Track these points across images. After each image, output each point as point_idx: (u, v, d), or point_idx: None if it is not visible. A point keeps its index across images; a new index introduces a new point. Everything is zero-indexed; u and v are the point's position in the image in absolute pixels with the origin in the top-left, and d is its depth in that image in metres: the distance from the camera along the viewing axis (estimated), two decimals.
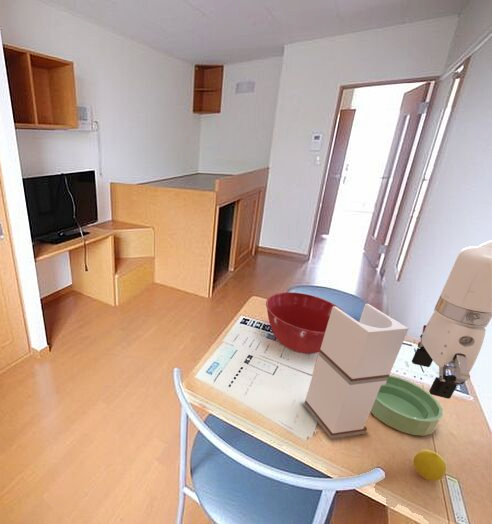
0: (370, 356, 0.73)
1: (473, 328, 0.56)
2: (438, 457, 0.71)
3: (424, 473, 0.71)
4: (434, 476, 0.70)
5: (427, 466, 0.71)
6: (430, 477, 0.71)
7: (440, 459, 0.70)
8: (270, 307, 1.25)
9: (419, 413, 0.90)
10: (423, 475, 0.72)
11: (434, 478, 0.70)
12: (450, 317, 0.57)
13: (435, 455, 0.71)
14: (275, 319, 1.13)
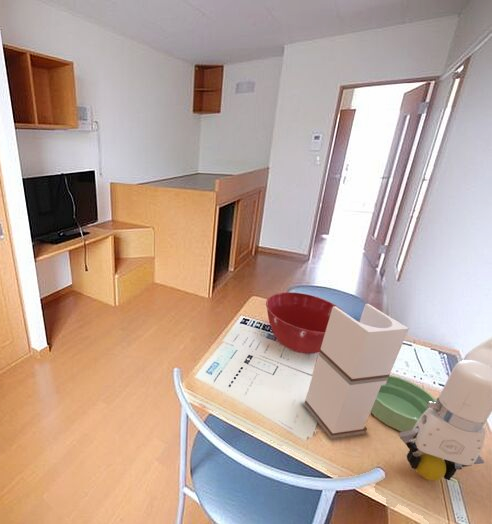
0: (370, 356, 0.73)
1: (433, 413, 0.68)
2: (438, 457, 0.71)
3: (424, 473, 0.71)
4: (434, 476, 0.70)
5: (427, 466, 0.71)
6: (430, 477, 0.71)
7: (440, 459, 0.70)
8: (270, 307, 1.25)
9: (419, 413, 0.90)
10: (423, 475, 0.72)
11: (434, 478, 0.70)
12: None
13: None
14: (275, 319, 1.13)
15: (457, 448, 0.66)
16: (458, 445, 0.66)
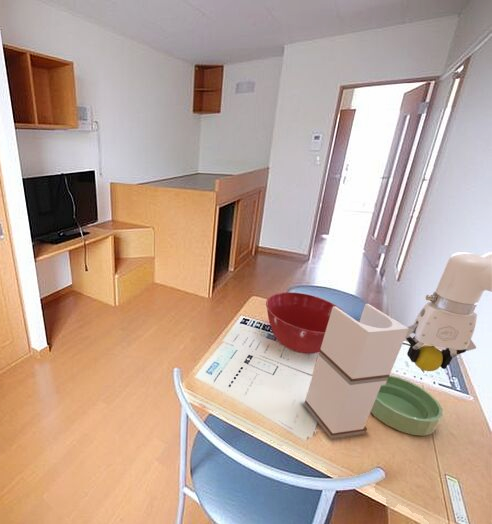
0: (370, 356, 0.73)
1: (430, 305, 0.76)
2: (435, 348, 0.79)
3: (423, 363, 0.79)
4: (432, 364, 0.78)
5: (425, 356, 0.79)
6: (428, 367, 0.79)
7: (437, 350, 0.78)
8: (270, 307, 1.25)
9: (419, 413, 0.90)
10: (422, 366, 0.80)
11: (432, 367, 0.79)
12: None
13: (433, 346, 0.79)
14: (275, 319, 1.13)
15: (452, 333, 0.74)
16: (453, 330, 0.74)
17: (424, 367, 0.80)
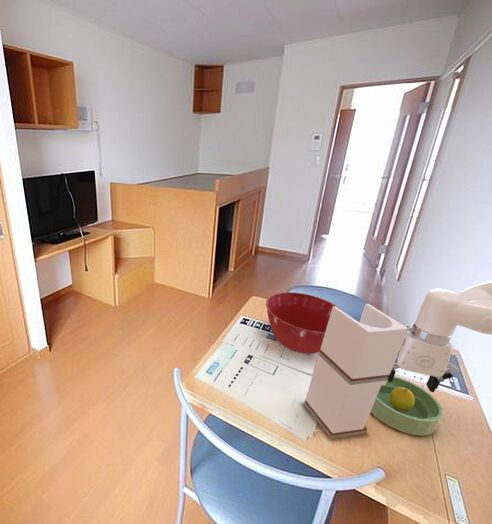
0: (370, 356, 0.73)
1: (410, 335, 0.83)
2: (408, 391, 0.88)
3: (397, 404, 0.89)
4: (405, 406, 0.88)
5: (399, 398, 0.88)
6: (402, 407, 0.88)
7: (410, 393, 0.88)
8: (270, 307, 1.25)
9: (419, 413, 0.90)
10: (396, 406, 0.89)
11: (405, 408, 0.88)
12: None
13: (406, 389, 0.88)
14: (275, 319, 1.13)
15: (429, 362, 0.81)
16: (430, 359, 0.81)
17: (398, 407, 0.89)
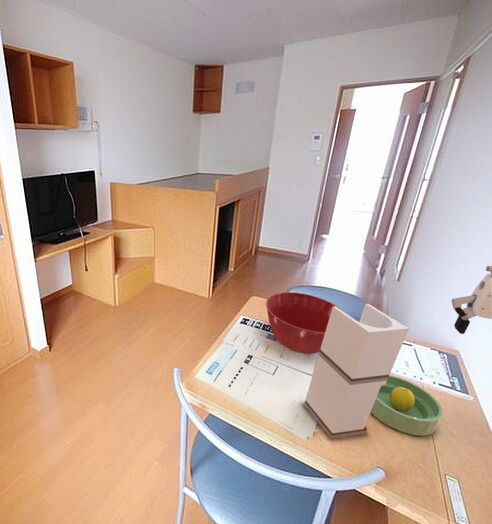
0: (370, 356, 0.73)
1: (491, 277, 0.72)
2: (408, 391, 0.88)
3: (397, 404, 0.89)
4: (405, 406, 0.88)
5: (399, 398, 0.88)
6: (402, 407, 0.88)
7: (410, 393, 0.88)
8: (270, 307, 1.25)
9: (419, 413, 0.90)
10: (396, 406, 0.89)
11: (405, 408, 0.88)
12: None
13: (406, 389, 0.88)
14: (275, 319, 1.13)
15: None
16: None
17: (398, 407, 0.89)
